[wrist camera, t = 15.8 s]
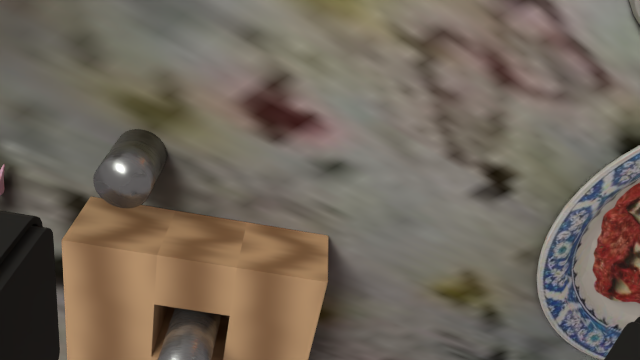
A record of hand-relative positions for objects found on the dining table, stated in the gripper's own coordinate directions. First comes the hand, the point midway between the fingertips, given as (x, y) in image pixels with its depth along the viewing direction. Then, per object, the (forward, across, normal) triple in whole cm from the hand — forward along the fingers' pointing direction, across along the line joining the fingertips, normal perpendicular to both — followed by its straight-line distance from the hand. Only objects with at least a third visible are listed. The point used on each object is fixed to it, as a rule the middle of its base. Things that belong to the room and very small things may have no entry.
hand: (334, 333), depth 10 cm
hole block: (+33, +6, +30) cm, 45 cm away
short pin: (+33, +12, +17) cm, 39 cm away
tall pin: (+33, +6, +30) cm, 45 cm away
